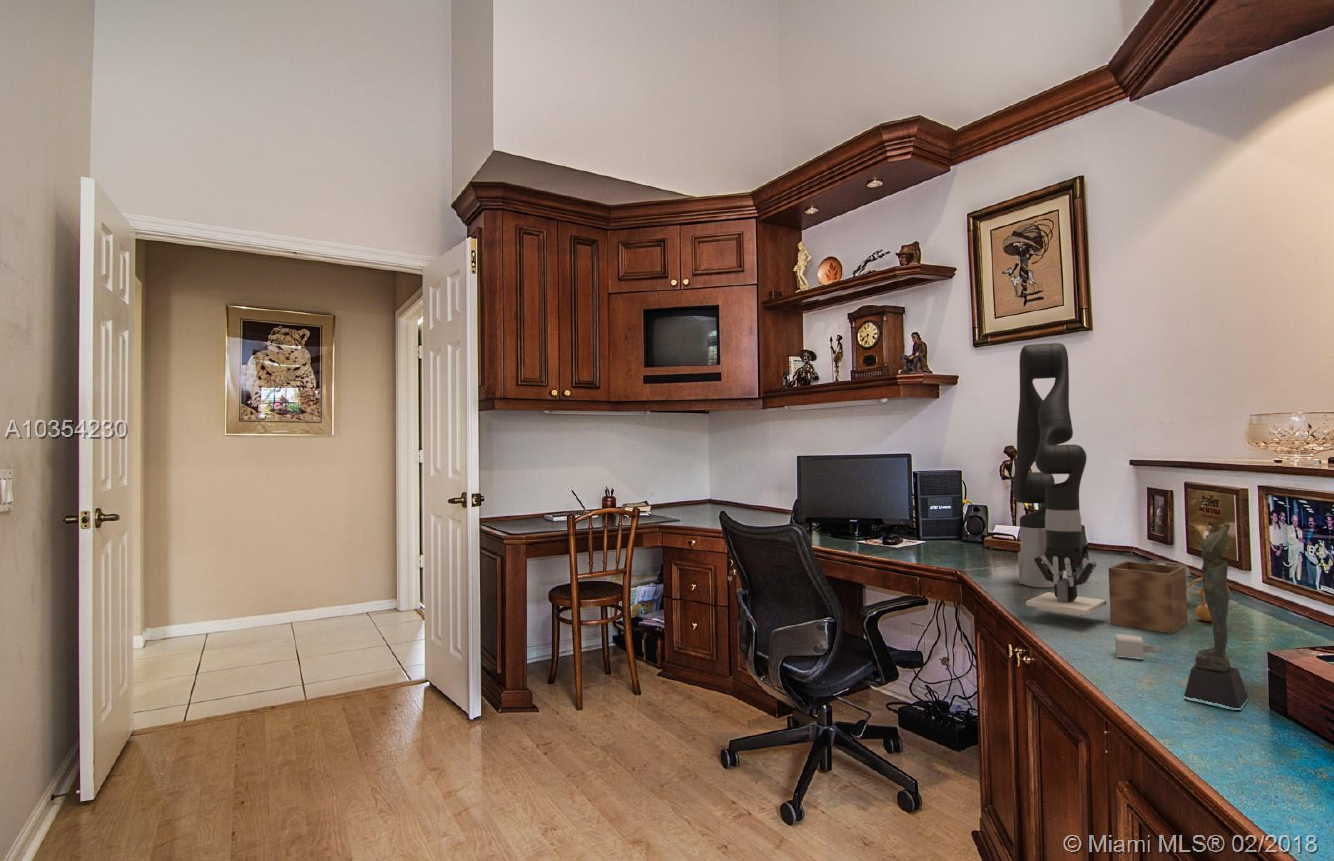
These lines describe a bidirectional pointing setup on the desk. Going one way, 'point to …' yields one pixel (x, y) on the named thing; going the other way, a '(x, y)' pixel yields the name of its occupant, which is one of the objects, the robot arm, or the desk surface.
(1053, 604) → the lid
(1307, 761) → the desk surface
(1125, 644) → the usb wall charger
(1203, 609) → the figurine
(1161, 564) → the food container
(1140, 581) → the box
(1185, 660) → the desk surface
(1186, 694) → the statue
